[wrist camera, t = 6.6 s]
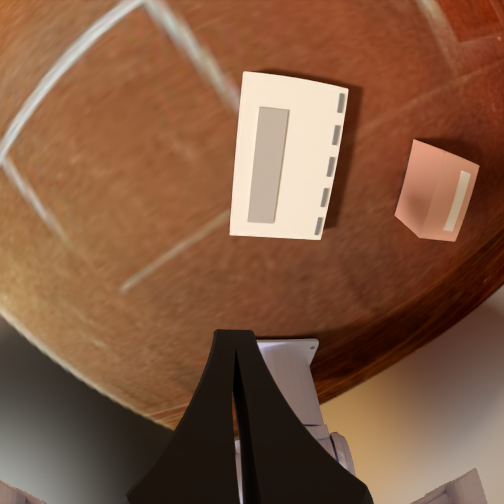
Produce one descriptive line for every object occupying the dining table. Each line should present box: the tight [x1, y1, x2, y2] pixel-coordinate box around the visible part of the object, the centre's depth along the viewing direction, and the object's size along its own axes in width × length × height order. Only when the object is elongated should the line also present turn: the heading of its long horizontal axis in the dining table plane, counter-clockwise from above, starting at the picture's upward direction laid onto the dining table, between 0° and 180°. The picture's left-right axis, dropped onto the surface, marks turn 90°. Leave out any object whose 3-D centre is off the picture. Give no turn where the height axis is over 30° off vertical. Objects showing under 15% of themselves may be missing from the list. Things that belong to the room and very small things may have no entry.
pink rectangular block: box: [395, 140, 479, 241], centre depth 16 cm, size 6×4×4 cm, turn 175°
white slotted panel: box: [230, 72, 348, 240], centre depth 16 cm, size 10×6×1 cm, turn 175°
